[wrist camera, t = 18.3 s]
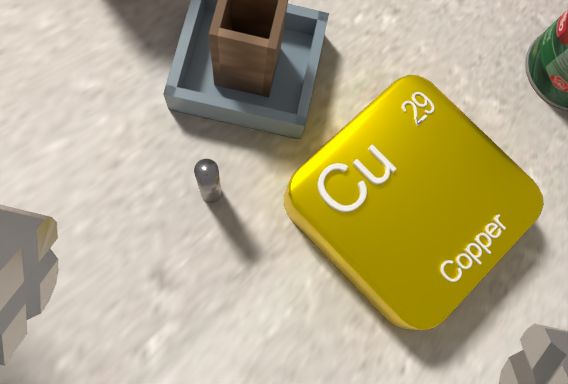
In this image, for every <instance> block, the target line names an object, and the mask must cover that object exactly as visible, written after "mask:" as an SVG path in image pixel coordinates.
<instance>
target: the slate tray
mask: <svg viewBox="0 0 568 384" xmlns="http://www.w3.org/2000/svg"><path fill="white" fill-rule="evenodd" d="M217 2H218V0H191V1H190V4H189V8H188V11H187V15H186V18H185V21H184V25H183V28H182V32H181V35H180V39H179V42H178V46H177V49H176V53H175V56H174V59H173V63H172V66H171V70H170V73H169V77H168V80H167V84H166V87H165V91H164V97H165V100H166V103H167V106H168V109H170V110H174V111H178V112H183V113H187V114H192V115H196V116H200V117H205V118H209V119H213V120H218V121H222V122H227V123H231V124H235V125H240V126H244V127H249V128H253V129H257V130H262V131H266V132H270V133H275V134H279V135H284V136H288V137H292V138H297V139H301V136H302V133H303V130H304V128H305V124H306V119H307V114H308V110H309V105H310V100H311V95H312V91H313V86H314V81H315V77H316V72H317V67H318V62H319V58H320V53H321V48H322V44H323V39H324V34H325V30H326V25H327V20H328V15H329V13H325V12H321V11H317V10H313V9H309V8H304V7H300V6H296V5H292V4H288V5H287V11H286V18H285V24H284V30H283V37H282V43H281V49H280V53H279V58H278V62H277V66H276V71H275V75H274V79H273V83H272V88H271V92H270V96H269V98H268V97H264V96H260V95H255V94H251V93H247V92H242V91H238V90H234V89H229V88H225V87H221V86H216V85H214V79H213V69H212V60H211V50H210V41H209V31H210V27H211V24H212V20H213V16H214V13H215V9H216V5H217Z"/></svg>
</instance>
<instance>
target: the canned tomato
mask: <svg viewBox="0 0 568 384" xmlns="http://www.w3.org/2000/svg"><path fill="white" fill-rule="evenodd" d="M526 72H527V76H528V78H529V81H530V83H531V85H532V87H533V88H534V90H535V91H536V92H537V93H538V95H539V96H540V97H542V98H543V99H544V100H545V101H546V102H548V103H549V104H551V105H553V106H555V107H557V108H560V109H563V110H568V10H567V11H566V12H565V13H564V14H563V15H562V16H560V17H559V18H558V19H557V20H556V21H555V22H554V23H553V24H552V25H551V26H550V27H549V28H548V29H547V30H546V31H545V32H544V33H543V34H542V35H540V36H539V37H537V38H536V40H535V41H534V42H533V43H532V44H531V46H530V48H529V50H528V52H527V56H526Z"/></svg>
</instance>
